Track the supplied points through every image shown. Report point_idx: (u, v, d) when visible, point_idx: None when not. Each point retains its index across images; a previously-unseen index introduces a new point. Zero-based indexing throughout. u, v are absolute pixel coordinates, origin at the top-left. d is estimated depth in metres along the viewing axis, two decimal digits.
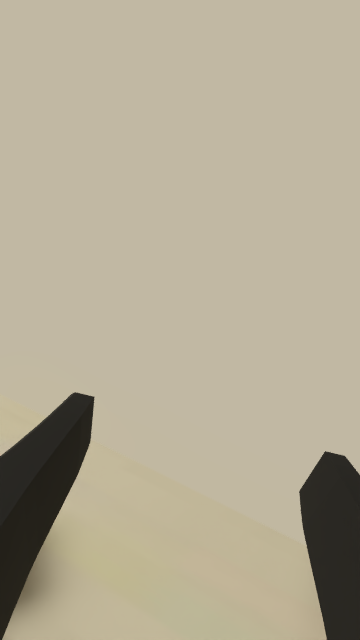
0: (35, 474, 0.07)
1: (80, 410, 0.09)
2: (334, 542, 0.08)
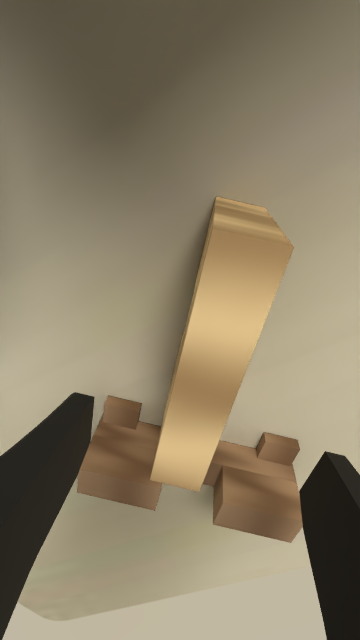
0: (35, 474, 0.07)
1: (80, 410, 0.09)
2: (334, 541, 0.08)
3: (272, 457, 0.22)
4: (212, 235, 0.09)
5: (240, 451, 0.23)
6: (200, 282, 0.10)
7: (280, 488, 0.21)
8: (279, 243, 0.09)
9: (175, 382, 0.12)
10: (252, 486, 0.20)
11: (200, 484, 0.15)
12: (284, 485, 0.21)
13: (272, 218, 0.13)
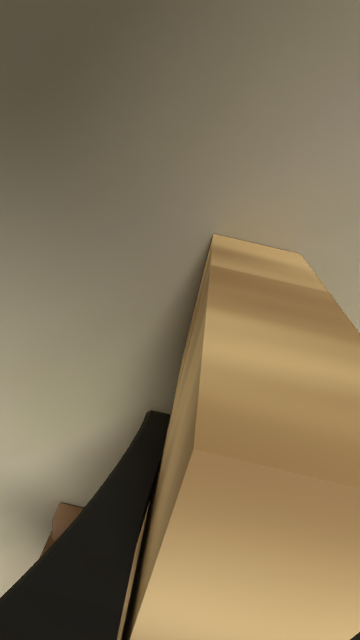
0: (145, 500, 0.06)
1: (164, 430, 0.09)
2: None
3: None
4: (193, 463, 0.03)
5: None
6: (160, 558, 0.03)
7: None
8: None
9: None
10: None
11: None
12: None
13: (330, 294, 0.06)
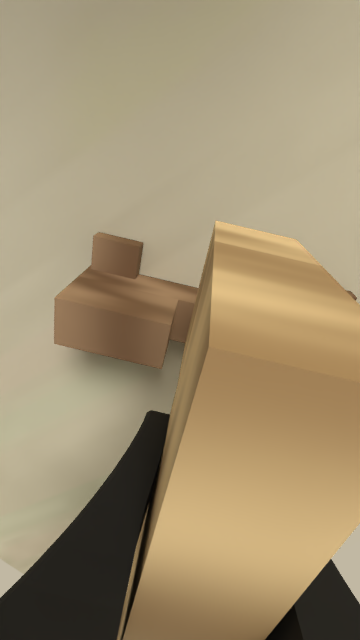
0: (145, 500, 0.06)
1: (164, 430, 0.09)
2: None
3: None
4: (207, 363, 0.03)
5: None
6: (176, 465, 0.04)
7: None
8: None
9: (131, 616, 0.06)
10: None
11: None
12: None
13: None
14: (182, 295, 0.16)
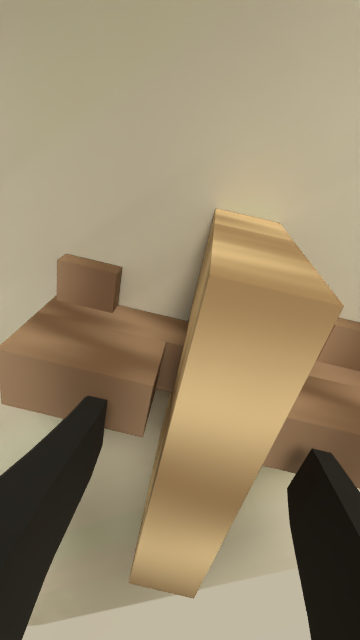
0: (54, 479, 0.07)
1: (95, 413, 0.09)
2: (318, 538, 0.08)
3: (343, 358, 0.13)
4: (209, 285, 0.06)
5: None
6: (190, 353, 0.06)
7: None
8: (319, 299, 0.06)
9: (157, 479, 0.08)
10: (318, 394, 0.11)
11: (195, 591, 0.11)
12: None
13: (294, 242, 0.09)
14: (171, 334, 0.13)
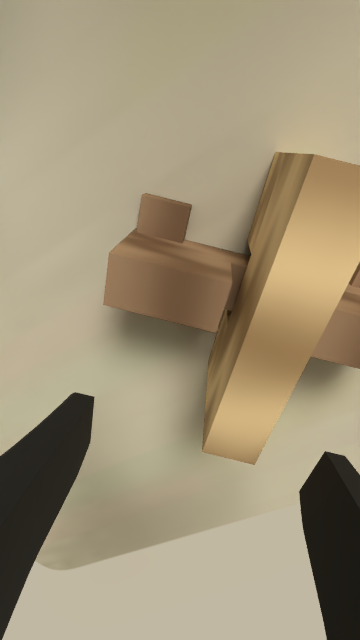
0: (35, 474, 0.07)
1: (80, 410, 0.09)
2: (334, 541, 0.08)
3: None
4: (312, 163, 0.08)
5: None
6: (290, 220, 0.09)
7: None
8: None
9: (245, 339, 0.11)
10: (357, 302, 0.14)
11: (256, 456, 0.14)
12: None
13: None
14: (233, 259, 0.16)
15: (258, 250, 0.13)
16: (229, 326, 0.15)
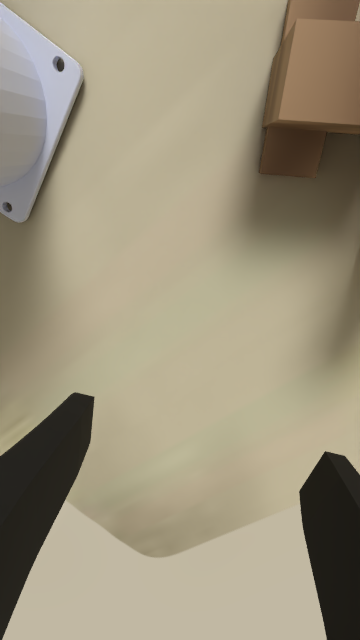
0: (35, 474, 0.07)
1: (80, 410, 0.09)
2: (334, 541, 0.08)
3: None
4: None
5: None
6: None
7: None
8: None
9: None
10: None
11: None
12: None
13: None
14: None
15: None
16: None
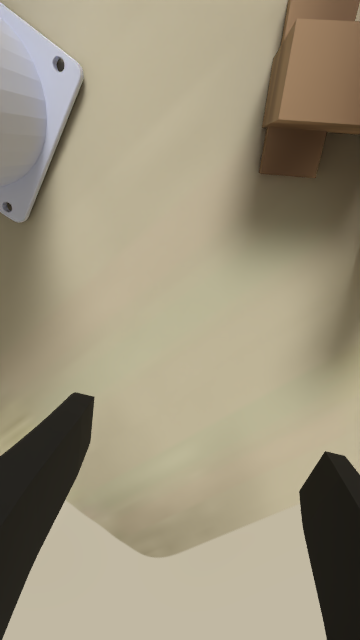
0: (35, 474, 0.07)
1: (80, 410, 0.09)
2: (334, 541, 0.08)
3: None
4: None
5: None
6: None
7: None
8: None
9: None
10: None
11: None
12: None
13: None
14: None
15: None
16: None
